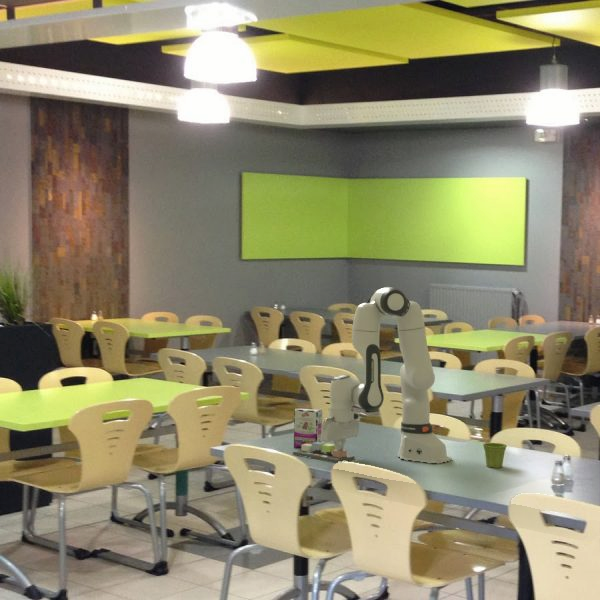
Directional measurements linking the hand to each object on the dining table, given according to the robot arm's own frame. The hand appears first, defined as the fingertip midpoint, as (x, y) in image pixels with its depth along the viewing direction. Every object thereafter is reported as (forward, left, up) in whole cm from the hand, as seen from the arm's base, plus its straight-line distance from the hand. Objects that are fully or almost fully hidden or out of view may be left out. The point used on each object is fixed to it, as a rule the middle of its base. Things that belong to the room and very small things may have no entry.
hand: (339, 450), depth 447 cm
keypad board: (+8, 0, -4) cm, 9 cm away
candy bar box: (+25, -10, -4) cm, 27 cm away
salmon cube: (0, 0, -4) cm, 4 cm away
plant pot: (-51, -34, -4) cm, 61 cm away
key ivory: (+16, 0, -3) cm, 17 cm away
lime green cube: (+5, 0, -2) cm, 6 cm away
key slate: (+11, 0, -2) cm, 11 cm away
